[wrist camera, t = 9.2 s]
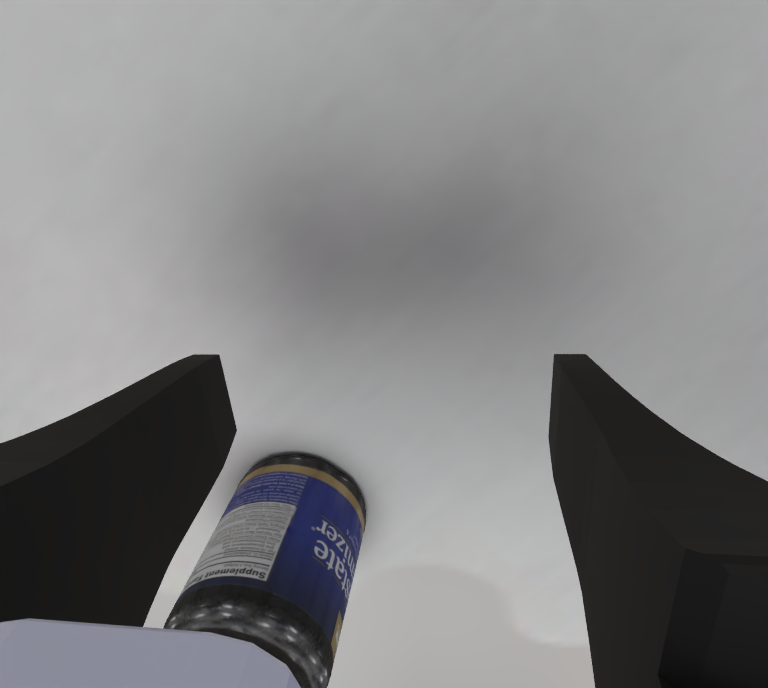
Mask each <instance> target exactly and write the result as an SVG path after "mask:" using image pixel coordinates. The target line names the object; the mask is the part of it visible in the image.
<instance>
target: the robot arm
mask: <svg viewBox="0 0 768 688" xmlns="http://www.w3.org/2000/svg"><path fill="white" fill-rule="evenodd" d="M236 431H237V429H236V424H235V420H234V416H233V412H232V407H231V403H230V399H229V394H228V390H227V386H226V381H225V377H224V373H223V369H222V364H221V360H220V356H219V355H191V356H188V357H186V358H183V359H181V360H179V361H177V362H175V363H172V364H170V365H168V366H166V367H164V368H163V369H161V370H159V371H157V372H155V373H153V374H151V375H149V376H147V377H145V378H143V379H142V380H140V381H138V382H136V383H134V384H132V385H130V386H128V387H126V388H125V389H123V390H121V391H119V392H117V393H115V394H113V395H111V396H109V397H107V398H105V399H103V400H101V401H99V402H97V403H95V404H93V405H91V406H89V407H87V408H85V409H83V410H81V411H78V412H76V413H74V414H72V415H70V416H68V417H66V418H64V419H61V420H59V421H57V422H54V423H52V424H50V425H48V426H45V427H43V428H40V429H38V430H35V431H33V432H30V433H28V434H25V435H23V436H20V437H17V438H15V439H12V440H9V441H6V442H3V443H0V688H301V687H300V685H299V684H298V682H297V680H296V679H295V677H294V676H293V674H292V672H291V671H290V669H289V668H288V666H287V665H286V664H284V663H283V662H281V661H280V660H278V659H277V658H275V657H273V656H272V655H270V654H269V653H267V652H266V651H264V650H263V649H261V648H259V647H258V646H256V645H255V644H253V643H251V642H247V641H243V640H239V639H235V638H231V637H227V636H223V635H219V634H215V633H211V632H198V631H186V630H173V629H159V628H147V627H143V625H144V623H145V620H146V618H147V615H148V612H149V610H150V608H151V605H152V603H153V601H154V598H155V596H156V594H157V591H158V589H159V587H160V584H161V582H162V580H163V577H164V575H165V573H166V570H167V568H168V566H169V564H170V562H171V560H172V558H173V556H174V554H175V552H176V550H177V549H178V547H179V545H180V543H181V542H182V540H183V538H184V536H185V535H186V533H187V531H188V529H189V528H190V526H191V524H192V522H193V520H194V519H195V517H196V515H197V513H198V512H199V510H200V508H201V506H202V505H203V503H204V501H205V499H206V498H207V496H208V494H209V492H210V490H211V489H212V487H213V485H214V483H215V481H216V480H217V478H218V476H219V474H220V472H221V470H222V468H223V466H224V464H225V461H226V459H227V456H228V454H229V451H230V448H231V446H232V443H233V440H234V437H235V434H236ZM549 445H550V454H551V463H552V470H553V478H554V482H555V486H556V490H557V494H558V498H559V502H560V506H561V510H562V514H563V518H564V522H565V525H566V529H567V533H568V537H569V541H570V545H571V548H572V552H573V556H574V560H575V564H576V568H577V572H578V576H579V581H580V586H581V591H582V596H583V603H584V610H585V617H586V623H587V630H588V637H589V644H590V651H591V659H592V665H593V673H594V681H595V687H596V688H768V481H766V480H764V479H762V478H760V477H758V476H756V475H754V474H752V473H750V472H748V471H746V470H744V469H742V468H740V467H738V466H736V465H734V464H732V463H730V462H728V461H727V460H725V459H723V458H721V457H719V456H718V455H716V454H714V453H713V452H711V451H709V450H708V449H706V448H704V447H703V446H701V445H699V444H698V443H696V442H694V441H693V440H691V439H690V438H688V437H687V436H685V435H684V434H682V433H681V432H679V431H678V430H676V429H675V428H673V427H672V426H671V425H669V424H668V423H666V422H665V421H664V420H662V419H661V418H660V417H658V416H657V415H655V414H654V413H653V412H651V411H650V410H649V409H648V408H646V407H645V406H644V405H643V404H641V403H640V402H639V401H638V400H636V399H635V398H634V397H633V396H632V395H630V394H629V393H628V392H627V391H626V390H625V389H623V388H622V387H621V386H620V385H619V384H618V383H617V382H616V381H614V380H613V379H612V378H611V377H610V376H609V375H608V374H607V373H606V372H605V371H603V370H602V369H601V368H600V367H599V366H598V365H597V364H596V363H595V362H594V361H593V360H592V359H590V358H589V357H588V356H587V355H586V354H554V363H553V378H552V393H551V408H550V423H549Z"/></svg>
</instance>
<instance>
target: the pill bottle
mask: <svg viewBox="0 0 768 688" xmlns="http://www.w3.org/2000/svg"><path fill="white" fill-rule="evenodd" d="M365 524H366V510H365V505H364V502H363V500H362V497H361V495H360V493H359V492H358V490H357V488H356V487H355V486H354V484H353V483H352V482H351V481H350V480H349V479H348V478H347V477H346V476H344V475H343V474H342V473H340V472H338V471H336V470H335V469H333V468H332V467H331V466H330V465H329V464H327V463H324V462H323V461H320V460H317V459H314V458H310V457H306V456H297V455H291V456H283V457H275V458H270V459H268V460H265V461H263V462H261V463H259V464H257V465H255V466H254V467H253V468H252V469H251V470H250V471H249V472H248V473H247V474H246V475H245V477H244V478H243V479H242V480H241V482H240V484H239V486H238V487H237V490H236V492H235V493H234V495H233V497H232V499H231V501H230V503H229V505H228V506H227V508H226V510H225V512H224V514H223V516H222V518H221V519H220V521H219V523H218V525H217V527H216V529H215V531H214V532H213V534H212V536H211V538H210V540H209V542H208V544H207V546H206V547H205V549H204V551H203V553H202V555H201V557H200V559H199V561H198V562H197V564H196V566H195V568H194V570H193V572H192V574H191V576H190V578H189V579H188V581H187V583H186V585H185V587H184V589H183V591H182V592H181V594H180V596H179V598H178V600H177V602H176V603H175V605H174V607H173V609H172V611H171V613H170V615H169V617H168V619H167V621H166V623H165V625H164V628H163V629H173V630H186V631H198V632H211V633H215V634H219V635H223V636H227V637H231V638H235V639H239V640H243V641H247V642H251V643H253V644H255V645H256V646H258V647H259V648H261V649H263V650H264V651H266V652H267V653H269V654H270V655H272V656H273V657H275V658H277V659H278V660H280V661H281V662H283V663H284V664H286V665H287V666H288V668H289V669H290V671H291V672H292V674H293V676H294V677H295V679H296V680H297V682H298V684H299V685H300V687H301V688H327V686H328V683H329V679H330V677H331V671H332V668H333V663H334V658H335V654H336V650H337V646H338V641H339V637H340V632H341V628H342V623H343V619H344V615H345V611H346V607H347V603H348V598H349V594H350V589H351V585H352V581H353V577H354V573H355V568H356V564H357V559H358V555H359V550H360V546H361V542H362V537H363V533H364V530H365Z"/></svg>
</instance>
